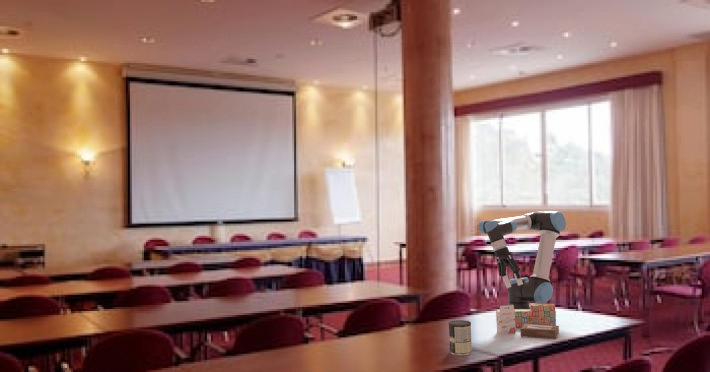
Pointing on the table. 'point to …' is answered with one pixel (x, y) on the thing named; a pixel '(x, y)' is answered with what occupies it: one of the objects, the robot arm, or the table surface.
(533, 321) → the stack of blocks
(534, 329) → the walnut plinth
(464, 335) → the coffee can
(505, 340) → the table surface
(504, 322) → the ink cartridge box
